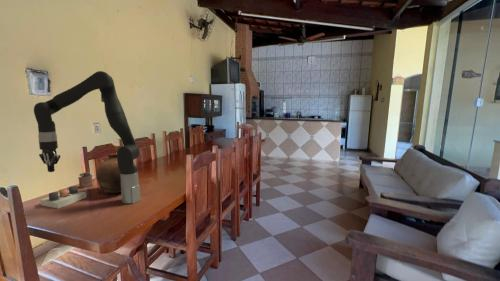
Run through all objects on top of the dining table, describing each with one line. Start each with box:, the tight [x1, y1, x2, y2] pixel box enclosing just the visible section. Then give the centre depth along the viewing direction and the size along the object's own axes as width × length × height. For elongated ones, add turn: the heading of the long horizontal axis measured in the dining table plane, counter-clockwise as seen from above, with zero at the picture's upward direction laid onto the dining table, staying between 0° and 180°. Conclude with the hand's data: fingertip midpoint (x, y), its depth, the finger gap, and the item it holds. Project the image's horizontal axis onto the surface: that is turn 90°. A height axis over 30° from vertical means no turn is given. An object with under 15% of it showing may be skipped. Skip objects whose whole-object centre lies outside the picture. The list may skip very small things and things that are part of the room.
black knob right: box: [68, 185, 79, 193], centre depth 144 cm, size 4×4×3 cm
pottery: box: [95, 153, 136, 194], centre depth 155 cm, size 23×23×25 cm
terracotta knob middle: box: [58, 188, 69, 197], centre depth 138 cm, size 4×4×3 cm
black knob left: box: [48, 191, 59, 200], centre depth 133 cm, size 4×4×3 cm
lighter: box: [77, 171, 94, 190], centre depth 162 cm, size 8×3×10 cm, turn 149°
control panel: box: [39, 189, 88, 209], centre depth 139 cm, size 13×16×3 cm
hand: (51, 171), depth 131 cm, fingers closed
